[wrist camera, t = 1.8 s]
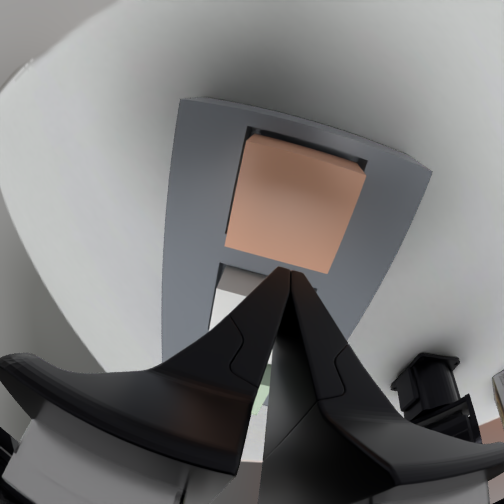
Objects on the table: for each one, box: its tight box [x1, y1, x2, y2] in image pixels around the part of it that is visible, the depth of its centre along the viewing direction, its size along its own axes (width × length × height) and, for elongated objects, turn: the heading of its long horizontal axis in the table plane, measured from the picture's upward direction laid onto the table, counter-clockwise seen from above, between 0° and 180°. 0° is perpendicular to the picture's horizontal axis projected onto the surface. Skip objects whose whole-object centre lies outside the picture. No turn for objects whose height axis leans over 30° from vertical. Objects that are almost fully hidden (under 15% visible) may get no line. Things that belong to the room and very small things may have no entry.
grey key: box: [209, 265, 272, 364], centre depth 19 cm, size 6×6×2 cm
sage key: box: [251, 364, 271, 415], centre depth 24 cm, size 6×6×2 cm
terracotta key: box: [225, 134, 366, 274], centre depth 15 cm, size 6×6×2 cm
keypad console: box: [162, 97, 432, 406], centre depth 22 cm, size 14×25×4 cm, turn 168°
